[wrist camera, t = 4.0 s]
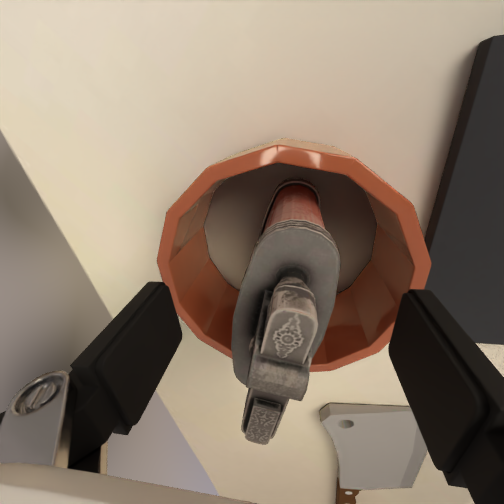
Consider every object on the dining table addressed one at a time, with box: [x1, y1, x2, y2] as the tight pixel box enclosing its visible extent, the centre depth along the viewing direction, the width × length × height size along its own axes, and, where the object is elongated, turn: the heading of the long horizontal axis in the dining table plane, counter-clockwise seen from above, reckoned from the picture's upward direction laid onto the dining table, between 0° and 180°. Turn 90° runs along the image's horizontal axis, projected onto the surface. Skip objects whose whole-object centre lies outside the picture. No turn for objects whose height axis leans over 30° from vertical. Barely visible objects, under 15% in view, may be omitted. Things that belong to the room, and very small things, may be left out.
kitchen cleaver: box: [319, 403, 428, 504], centre depth 26 cm, size 24×1×10 cm
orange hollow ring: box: [157, 138, 432, 372], centre depth 13 cm, size 12×12×5 cm
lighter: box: [231, 178, 341, 445], centre depth 11 cm, size 8×3×10 cm, turn 171°
